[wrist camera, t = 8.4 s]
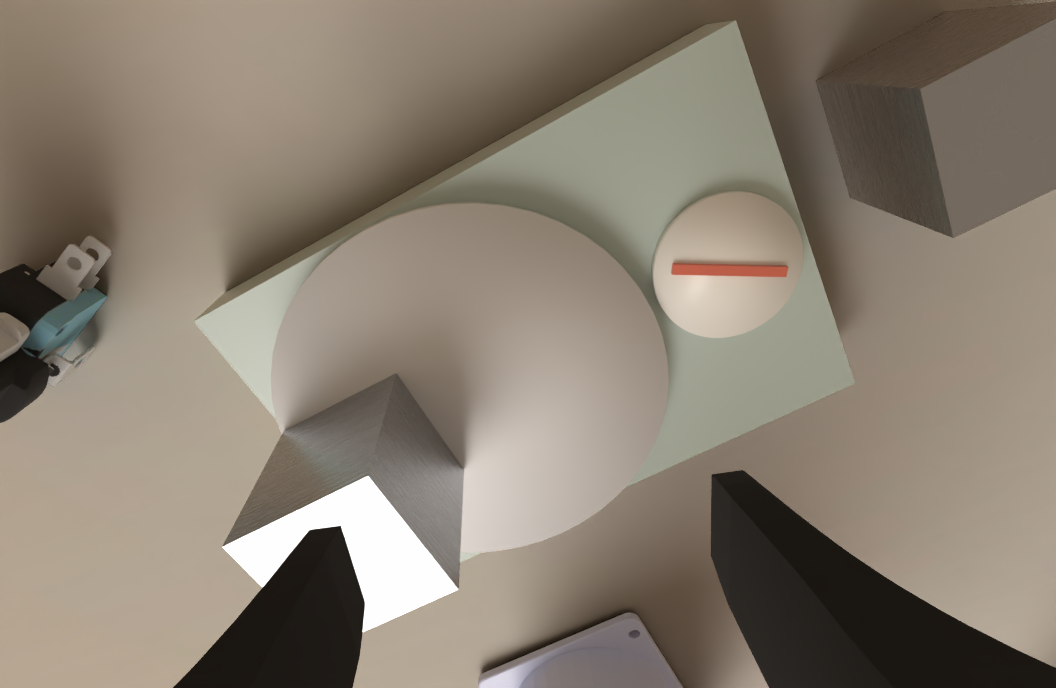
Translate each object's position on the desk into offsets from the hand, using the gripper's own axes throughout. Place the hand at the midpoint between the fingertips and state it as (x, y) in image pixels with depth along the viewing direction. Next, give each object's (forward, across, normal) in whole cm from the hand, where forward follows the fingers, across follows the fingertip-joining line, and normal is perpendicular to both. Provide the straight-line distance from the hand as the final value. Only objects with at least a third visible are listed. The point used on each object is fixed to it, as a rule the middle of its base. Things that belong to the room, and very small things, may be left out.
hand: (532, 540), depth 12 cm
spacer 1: (+7, +5, +2) cm, 9 cm away
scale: (+10, -1, 0) cm, 11 cm away
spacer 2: (+11, -13, -6) cm, 18 cm away
